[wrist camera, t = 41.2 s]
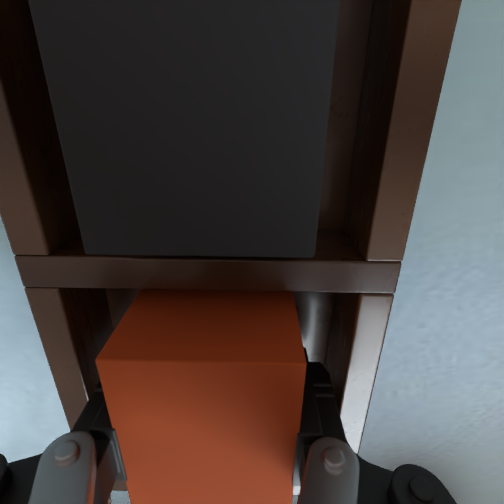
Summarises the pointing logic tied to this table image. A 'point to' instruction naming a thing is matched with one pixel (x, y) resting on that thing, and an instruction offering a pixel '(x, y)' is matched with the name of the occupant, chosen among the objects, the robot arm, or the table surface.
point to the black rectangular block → (192, 121)
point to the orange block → (206, 395)
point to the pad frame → (241, 268)
